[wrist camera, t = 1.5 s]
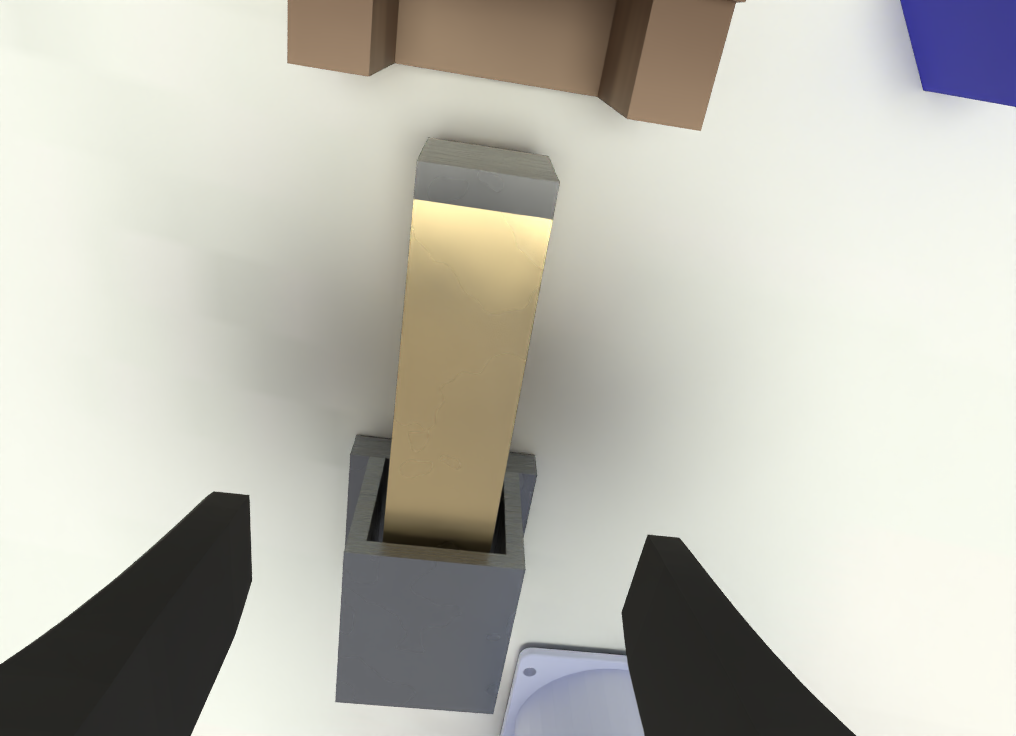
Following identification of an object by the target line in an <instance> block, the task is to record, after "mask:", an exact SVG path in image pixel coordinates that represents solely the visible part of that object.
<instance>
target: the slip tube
mask: <svg viewBox="0 0 1016 736" xmlns="http://www.w3.org/2000/svg"><path fill="white" fill-rule="evenodd" d="M559 184H560V182H559V180H558V177H557V175H556V173H555V170H554V168H553V166H552V163H551V161H550V159H549V156H545V155H538V154H532V153H525V152H519V151H513V150H506V149H500V148H493V147H487V146H481V145H474V144H468V143H462V142H455V141H449V140H442V139H436V138H430V137H428V139H427V141H426V143H425V145H424V147H423V149H422V152H421V154H420V156H419V158H418V160H417V167H416V178H415V189H414V200H413V211H412V222H411V233H410V244H409V255H408V266H407V277H406V288H405V299H404V310H403V321H402V332H401V343H400V354H399V365H398V376H397V387H396V398H395V409H394V421H393V432H392V443H391V454H390V465H389V476H388V487H387V498H386V509H385V520H384V531H383V543H393V544H403V545H413V546H423V547H433V548H443V549H454V550H464V551H474V552H484V553H490V550H491V545H492V540H493V534H494V529H495V524H496V518H497V513H498V508H499V502H500V497H501V492H502V487H503V481H504V476H505V471H506V465H507V460H508V455H509V449H510V444H511V439H512V433H513V428H514V423H515V417H516V412H517V407H518V402H519V396H520V391H521V386H522V380H523V375H524V370H525V364H526V359H527V354H528V348H529V343H530V338H531V332H532V327H533V322H534V317H535V311H536V306H537V301H538V295H539V290H540V285H541V279H542V274H543V269H544V263H545V258H546V253H547V247H548V242H549V237H550V232H551V226H552V221H553V216H554V210H555V205H556V200H557V194H558V189H559Z"/></svg>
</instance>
